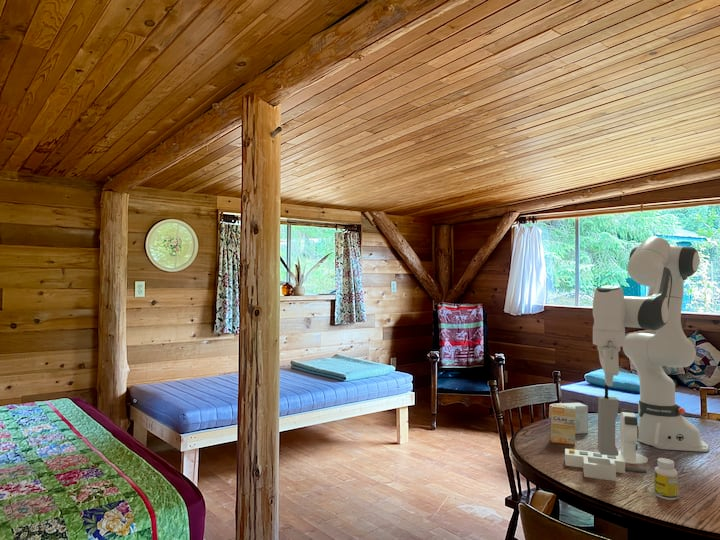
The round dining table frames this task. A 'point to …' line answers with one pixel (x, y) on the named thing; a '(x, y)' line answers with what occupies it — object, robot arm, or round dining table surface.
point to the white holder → (630, 438)
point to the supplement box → (563, 424)
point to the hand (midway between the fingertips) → (608, 384)
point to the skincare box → (579, 417)
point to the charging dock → (597, 464)
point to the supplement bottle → (666, 479)
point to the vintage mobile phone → (607, 423)
